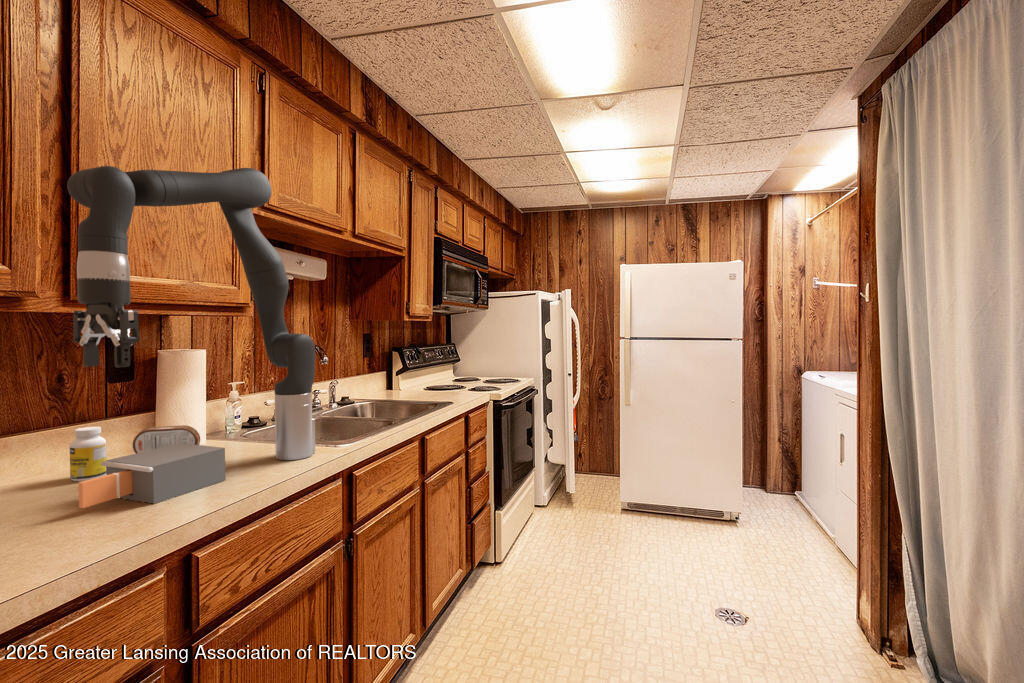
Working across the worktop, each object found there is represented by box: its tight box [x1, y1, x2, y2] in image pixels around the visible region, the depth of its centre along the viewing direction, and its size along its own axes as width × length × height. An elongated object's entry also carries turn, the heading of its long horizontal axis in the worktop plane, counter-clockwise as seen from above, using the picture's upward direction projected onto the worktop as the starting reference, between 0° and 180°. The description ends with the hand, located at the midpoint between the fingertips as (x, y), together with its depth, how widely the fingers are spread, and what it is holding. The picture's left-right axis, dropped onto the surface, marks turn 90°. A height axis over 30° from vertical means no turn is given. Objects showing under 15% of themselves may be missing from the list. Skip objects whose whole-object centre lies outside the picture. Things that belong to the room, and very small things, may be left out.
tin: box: [132, 424, 201, 454], centre depth 133 cm, size 15×3×8 cm, turn 111°
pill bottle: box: [69, 426, 108, 482], centre depth 115 cm, size 6×6×12 cm
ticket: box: [77, 470, 133, 509], centre depth 100 cm, size 18×1×5 cm, turn 160°
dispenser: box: [101, 443, 226, 504], centre depth 107 cm, size 17×14×8 cm
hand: (106, 366), depth 91 cm, fingers open, 8 cm apart
